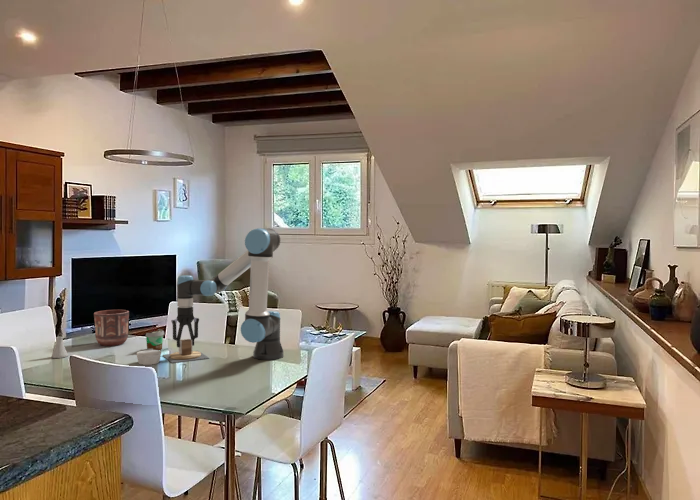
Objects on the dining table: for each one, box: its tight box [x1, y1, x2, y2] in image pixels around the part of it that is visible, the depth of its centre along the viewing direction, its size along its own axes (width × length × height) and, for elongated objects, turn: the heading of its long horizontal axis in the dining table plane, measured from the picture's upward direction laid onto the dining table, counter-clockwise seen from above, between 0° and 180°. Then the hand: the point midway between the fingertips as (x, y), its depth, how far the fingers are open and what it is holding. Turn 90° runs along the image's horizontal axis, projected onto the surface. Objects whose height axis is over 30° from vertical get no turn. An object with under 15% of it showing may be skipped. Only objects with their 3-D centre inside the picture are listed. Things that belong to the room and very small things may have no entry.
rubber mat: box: [162, 350, 210, 364], centre depth 271 cm, size 18×18×1 cm
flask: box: [51, 336, 69, 359], centre depth 270 cm, size 7×7×10 cm
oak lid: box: [169, 338, 202, 360], centre depth 271 cm, size 15×15×8 cm
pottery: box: [93, 309, 130, 347], centre depth 300 cm, size 18×18×18 cm
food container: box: [145, 328, 165, 351], centre depth 286 cm, size 12×6×10 cm, turn 168°
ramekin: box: [136, 349, 162, 366], centre depth 259 cm, size 11×11×5 cm
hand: (185, 352), depth 271 cm, fingers closed on oak lid, 4 cm apart
